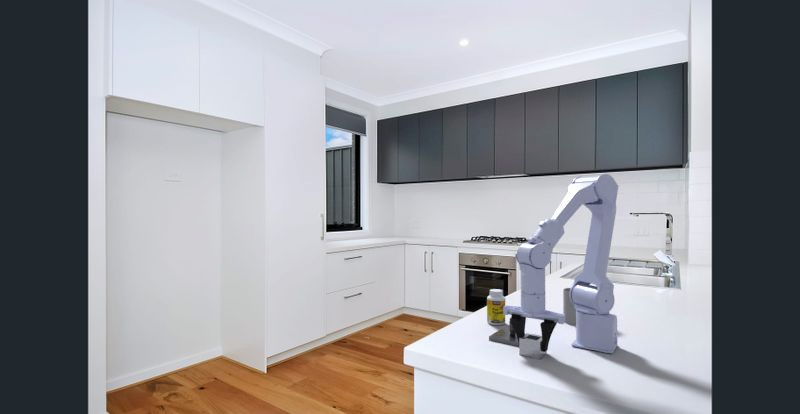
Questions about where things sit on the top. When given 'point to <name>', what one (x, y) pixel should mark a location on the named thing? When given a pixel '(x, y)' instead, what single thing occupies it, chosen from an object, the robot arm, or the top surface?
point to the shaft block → (505, 336)
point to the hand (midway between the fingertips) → (533, 348)
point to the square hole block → (531, 346)
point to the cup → (568, 308)
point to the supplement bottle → (495, 307)
